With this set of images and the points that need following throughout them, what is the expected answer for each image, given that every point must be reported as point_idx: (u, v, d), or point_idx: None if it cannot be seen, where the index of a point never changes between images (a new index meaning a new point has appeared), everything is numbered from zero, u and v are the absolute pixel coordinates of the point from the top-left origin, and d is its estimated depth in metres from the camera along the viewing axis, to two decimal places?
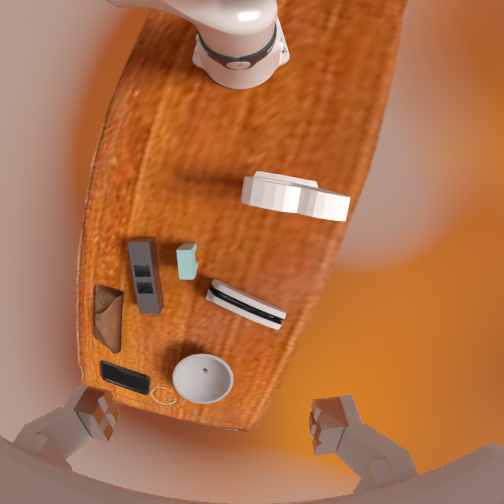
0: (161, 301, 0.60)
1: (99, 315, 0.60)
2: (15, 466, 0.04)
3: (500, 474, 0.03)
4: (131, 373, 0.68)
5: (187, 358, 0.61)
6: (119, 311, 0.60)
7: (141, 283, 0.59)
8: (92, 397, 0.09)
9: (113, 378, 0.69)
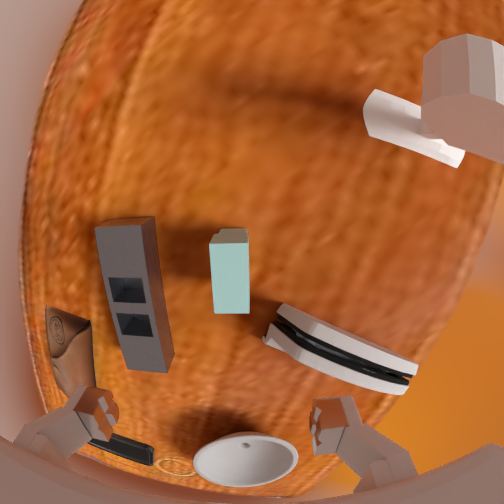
0: (169, 347, 0.29)
1: (55, 361, 0.29)
2: (15, 466, 0.04)
3: (500, 474, 0.03)
4: (124, 441, 0.37)
5: (221, 441, 0.30)
6: (86, 357, 0.29)
7: (127, 313, 0.28)
8: (92, 397, 0.09)
9: (98, 442, 0.38)
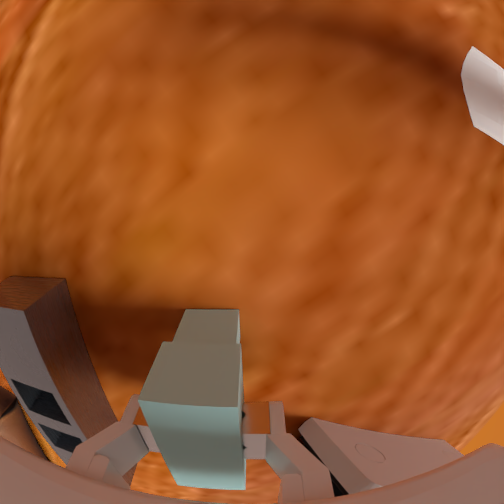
0: None
1: None
2: (15, 466, 0.04)
3: (500, 474, 0.03)
4: None
5: None
6: (22, 439, 0.15)
7: None
8: None
9: None
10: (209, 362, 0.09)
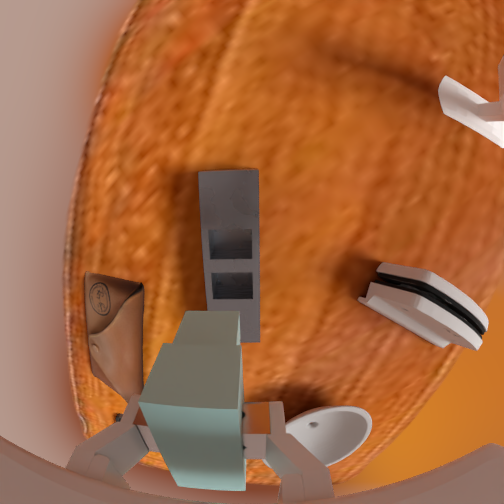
0: None
1: (96, 337, 0.28)
2: (15, 466, 0.04)
3: (500, 474, 0.03)
4: None
5: (303, 418, 0.29)
6: (136, 326, 0.28)
7: (215, 276, 0.27)
8: None
9: None
10: (209, 364, 0.09)
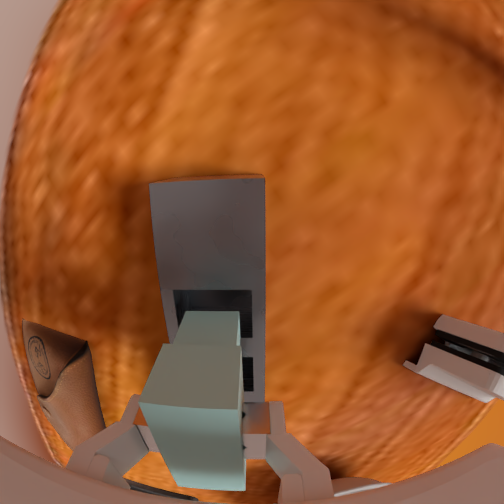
0: None
1: (43, 402, 0.17)
2: (15, 466, 0.04)
3: (500, 474, 0.03)
4: (158, 493, 0.26)
5: None
6: (87, 398, 0.17)
7: None
8: None
9: None
10: (209, 364, 0.09)
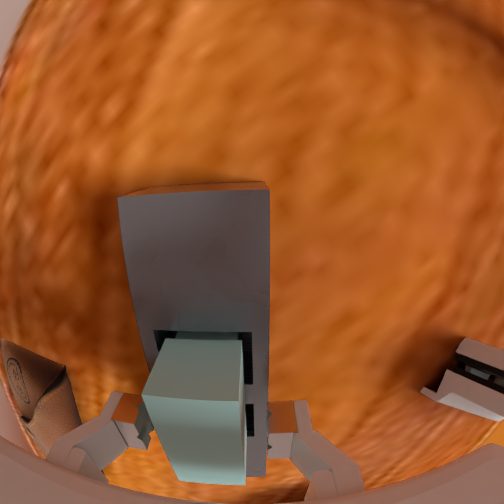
0: None
1: (26, 424, 0.14)
2: (15, 466, 0.04)
3: (500, 474, 0.03)
4: None
5: None
6: (68, 426, 0.14)
7: None
8: (130, 404, 0.09)
9: None
10: (211, 358, 0.09)
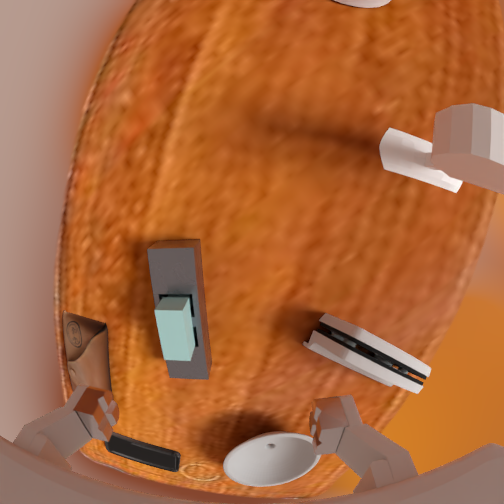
0: (209, 356, 0.33)
1: (72, 364, 0.32)
2: (15, 466, 0.04)
3: (500, 474, 0.03)
4: (151, 448, 0.40)
5: (253, 441, 0.33)
6: (102, 358, 0.32)
7: None
8: (92, 397, 0.09)
9: (124, 451, 0.41)
10: (177, 301, 0.27)
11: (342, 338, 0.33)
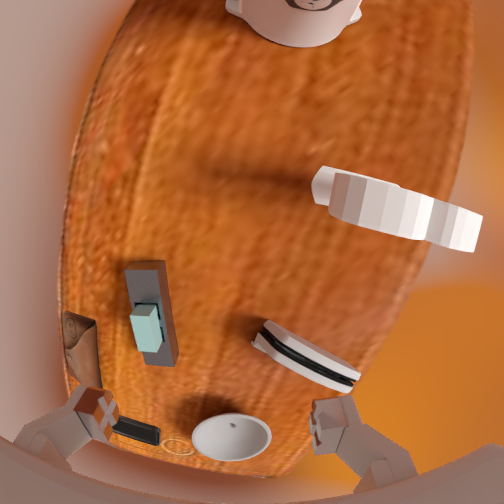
0: (175, 348, 0.42)
1: (69, 351, 0.41)
2: (15, 466, 0.04)
3: (500, 474, 0.03)
4: (136, 424, 0.50)
5: (212, 419, 0.42)
6: (92, 347, 0.41)
7: None
8: (92, 397, 0.09)
9: (115, 427, 0.51)
10: (146, 308, 0.36)
11: None
